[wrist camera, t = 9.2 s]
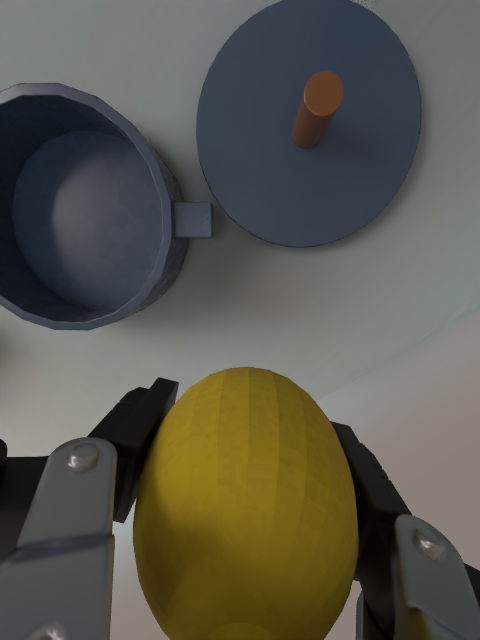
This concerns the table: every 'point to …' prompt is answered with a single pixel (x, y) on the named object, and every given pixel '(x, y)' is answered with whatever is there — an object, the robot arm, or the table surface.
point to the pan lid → (308, 121)
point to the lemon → (245, 513)
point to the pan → (85, 211)
